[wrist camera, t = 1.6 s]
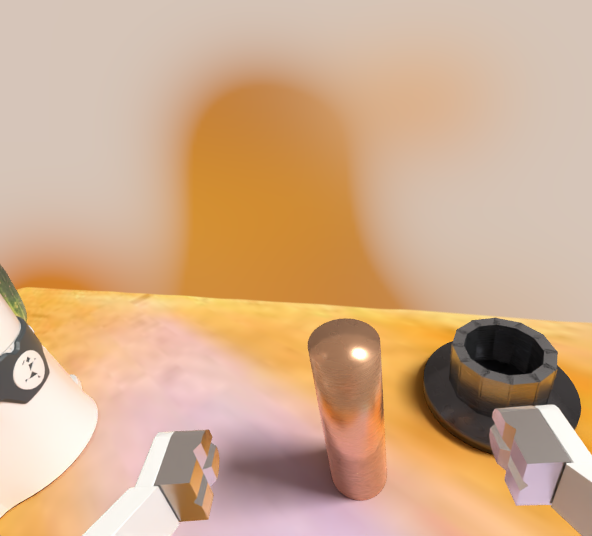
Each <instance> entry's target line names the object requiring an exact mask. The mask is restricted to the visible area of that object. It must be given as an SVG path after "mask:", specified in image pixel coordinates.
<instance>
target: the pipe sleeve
mask: <svg viewBox="0 0 592 536" xmlns="http://www.w3.org/2000/svg"><path fill="white" fill-rule="evenodd" d="M557 354H558V352H557V351H556V350H555V349H554V347H553V346H552V345H551V344H550V342H549V341H548V340H547V339H546V337H545V336H544V335H543V334H541V333H539V332H537V331H535V330H533V329H531V328H529V327H527V326H526V325H524V324H522V323H519V322H514V321H508V320H503V319H498V318H490V319H481V320H472V321H471V322H469V323H467V324H466V325H464V326H462V327H461V328H459V329H457V330H456V334H455V337H454V340H453V341H452V342H449V343H447V344H445V345H443V346H442V347H440V348H439V349H437V350H436V351H435V352H434V353H433V354H432V355H431V357H430V358H429V359H428V361H427V364H426V366H425V370H424V384H423V387H424V395H425V399H426V402H427V404H428V406H429V408H430V410H431V412H432V413H433V415H434V416H435V418H436V419H437V420H438V421H439V423H440V424H441V425H442V426H443V427H444V428H445V429H446V430H448V431H449V432H450V433H451V434H453V435H454V436H455V437H457V438H458V439H460V440H461V441H463V442H465V443H467V444H468V445H470V446H472V447H474V448H477V449H479V450H481V451H484V452H487V453H490V454H493V452H492V448H491V445H490V438H489V434H490V428H491V427H492V426H493V425H494V424H495V423H494V420H493V418H492V415H493V411H494V410H495V409H497V408H509V407H520V406H539V405H550V404H551V405H555V406H557V407H558V408H559V409H560V411H561V412H562V414H563V415H564V416H565V418H566V419H567V421H568V422H569V424H570V425H571V426H572V428H573V429H574V431H575V429H576V427H577V424H578V421H579V418H580V413H581V404H580V398H579V395H578V392H577V390H576V388H575V386H574V384H573V383H572V381H571V380H570V379H569V377H568V376H567V375H566V374H565V373H564V371H563V370H562V369H560V368H559V367H558V366H557Z"/></svg>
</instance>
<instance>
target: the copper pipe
mask: <svg viewBox="0 0 592 536" xmlns="http://www.w3.org/2000/svg"><path fill="white" fill-rule="evenodd" d="M308 351H309V356H310V362H311V367H312V372H313V378H314V383H315V389H316V394H317V400H318V405H319V410H320V416H321V421H322V427H323V432H324V437H325V443H326V448H327V454H328V459H329V464H330V470H331V475H332V480H333V482H334V485H335V486H336V488H337V489H338V490H339V491H340V492H341V493H342V494H343V495H344V496H346V497H348V498H350V499H353V500H367V499H371V498H373V497H375V496H376V495H377V494H379V493H380V491H381V490H382V489H383V487H384V485H385V483H386V478H387V469H386V449H385V429H384V409H383V389H382V369H381V349H380V338H379V335H378V333H377V332H376V330H375V329H374V328H373V327H371V326H370V325H369V324H367V323H365V322H362V321H359V320H355V319H337V320H332V321H329V322H327V323H324V324H323V325H321V326H319V327H318V328H317V329H316V330H314V332H313V333H312V334H311V336H310V338H309V341H308Z"/></svg>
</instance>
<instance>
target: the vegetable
mask: <svg viewBox="0 0 592 536" xmlns="http://www.w3.org/2000/svg"><path fill="white" fill-rule="evenodd" d="M0 294H1V295H2V297H3V298H4V300H5V301H6V302H7V304H8V305H9V307H10V308H11V310H12V311H13V313H14V314H15V316H18V317H21V318H22V319H24V321H25V322H26V321H27V313H26V309H25V306H24V304H23V302H22V300H21V298H20V296H19V294H18V292H17V290H16V289H15V287H14V285H13V283H12V282H11V280H10V278H9V276H8V275H7V273H6V271H5V270H4V269H3V267H2V266H1V265H0Z"/></svg>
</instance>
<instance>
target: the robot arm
mask: <svg viewBox="0 0 592 536" xmlns="http://www.w3.org/2000/svg"><path fill="white" fill-rule="evenodd" d="M97 418H98V410H97V406H96V403H95V402H94V400H93V399H92V398H91V397H90V396H88V395H87V394H86V393H85V392H84V391H83V390H82V385H81V382H80V380H79V379H78V378H77V377H76V376H75V375H69V374H68V373H67V372H66V371H65V370H64V369H63V367H62V366H61V365H60V364H59V363H58V362H57V361H56V360H55V358H54V357H53V356H52V355H51V354H50V353H49V352H48V351H47V350H46V348H45V347H44V346H42V344H41V343H40V341H39V340H38V338H37V337H36V335H35V334H34V330H33V329H32V328H31V327H30V326H29V325H28V324H27V323H26V322H25V321H24V319H22V318H21V317H18V316H15V314H14V313H13V311H12V310H11V308H10V307H9V305H8V304H7V302H6V301H5V300H4V298H3V297H2V295H1V294H0V517H2V516H3V515H4V514H5V513H6V512H7V511H8V510H9V509H11V508H12V507H14V506H15V505H17V504H18V503H20V502H22V501H24V500H25V499H27V498H29V497H30V496H32V495H34V494H35V493H37V492H39V491H40V490H42V489H43V488H44V487H46V486H47V485H49V484H50V483H51V482H52V481H54V480H55V479H56V478H57V477H58V476H60V475H61V474H62V473H63V472H64V471H65V470H66V469H67V468H68V467H69V466H70V465H71V464H72V463H73V462H74V461H75V460H76V458H77V457H78V456H79V455H80V453H81V452H82V451H83V449H84V448H85V447H86V445H87V443H88V442H89V440H90V438H91V436H92V434H93V432H94V430H95V427H96V423H97ZM492 418H493V420H494V423H495V424H494V425H493V426H492V427H491V428H490V434H489V438H490V445H491V448H492V452H493V455H494V457H495V459H496V462H497V464H499V465H500V466H501V467H502V468H504V469H505V470H506V475H505V482H506V484H507V486H508V488H509V491H510V493H511V495H512V497H513V499H514V502H515V504H516V505H551V507H552V508H553V509H554V510H555V511H556V512H557V513H558V514H559V515H561V516H562V517H563V518H564V519H565V520H566V521H567V522H568V523H569V524H570V525H571V526H572V527H573V528H574V529H575V530H577V531H578V532H579V533H580V534H581V535H582V536H592V455H591V454H590V452H589V451H588V450H587V448H586V447H585V445H584V444H583V442H582V441H581V439H580V438H579V437H578V435H577V434H576V432H575V431H574V429H573V428H572V426H571V425H570V424H569V422H568V421H567V419H566V418H565V416H564V415H563V414H562V412H561V411H560V409H559V408H558V407H557V406H555V405H551V404H550V405H539V406H520V407H509V408H497V409H495V410H494V411H493V415H492ZM211 440H212V435H211V433H210V431H209V430H194V431H172V432H159V433H158V434H157V435H156V437H155V438H154V440H153V442H152V445H151V447H150V450H149V453H148V455H147V458H146V460H145V463H144V465H143V468H142V470H141V473H140V475H139V478H138V480H137V483H136V485H135V487H131V488H129V489H128V490H127V491H126V492H125V493H124V494H123V495H122V496H121V497H120V498H119V499H118V500H117V501H116V502H115V503H114V504H113V505H112V506H111V507H110V508H109V509H108V510H107V511H106V512H105V513H104V514H103V515H102V516H101V517H100V518H99V519H98V520H97V521H96V522H95V523H94V524H93V525H92V526H91V527H90V528H89V529H88V530H87V531H86V532H85V533H84V534H83V535H82V536H171V535H172V534H173V533H174V531H175V530H176V528H177V527H178V526H179V524H180V523H179V522H182V521H195V520H208V519H209V514H210V510H211V505H212V501H213V496H214V495H213V492H212V490H211V488H210V487H211V486H212V485H213V484H214V482H215V481H216V480H217V477H218V472H219V453H218V450H217V447H216V446H215V445H214V444H212V443H211Z"/></svg>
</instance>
